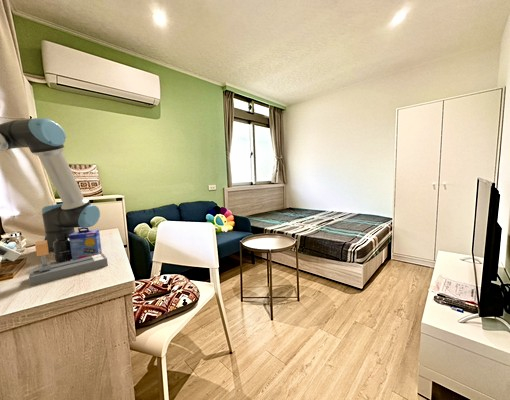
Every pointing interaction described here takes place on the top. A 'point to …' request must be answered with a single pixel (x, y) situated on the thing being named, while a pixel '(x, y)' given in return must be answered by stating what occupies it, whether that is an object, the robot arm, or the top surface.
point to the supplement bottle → (62, 247)
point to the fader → (43, 254)
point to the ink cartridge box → (85, 243)
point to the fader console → (67, 269)
